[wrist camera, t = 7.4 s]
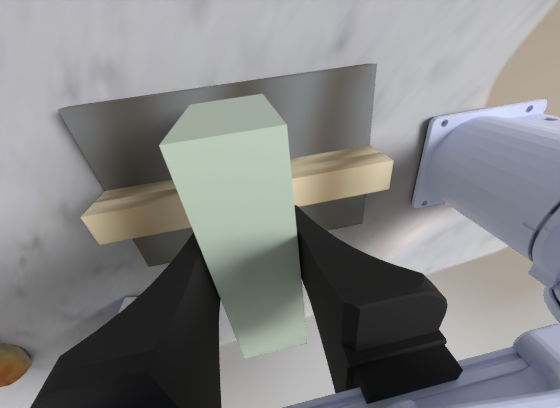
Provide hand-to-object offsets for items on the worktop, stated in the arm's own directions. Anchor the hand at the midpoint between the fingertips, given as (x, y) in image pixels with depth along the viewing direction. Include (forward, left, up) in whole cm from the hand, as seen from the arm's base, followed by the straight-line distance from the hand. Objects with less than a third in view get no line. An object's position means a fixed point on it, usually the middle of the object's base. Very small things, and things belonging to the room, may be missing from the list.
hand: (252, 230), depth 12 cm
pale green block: (0, 0, -3) cm, 3 cm away
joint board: (0, 0, -7) cm, 7 cm away
